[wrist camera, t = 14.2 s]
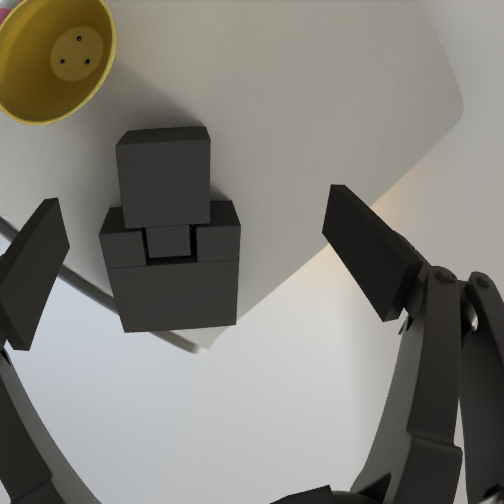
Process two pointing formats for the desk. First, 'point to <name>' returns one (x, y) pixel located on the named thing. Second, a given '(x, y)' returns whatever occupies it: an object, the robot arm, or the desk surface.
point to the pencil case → (7, 8)
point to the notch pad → (174, 274)
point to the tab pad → (165, 185)
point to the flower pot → (54, 57)
